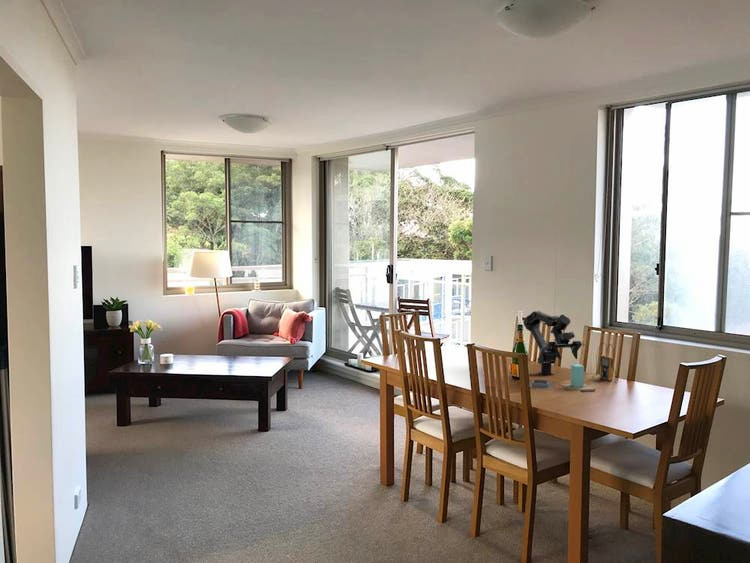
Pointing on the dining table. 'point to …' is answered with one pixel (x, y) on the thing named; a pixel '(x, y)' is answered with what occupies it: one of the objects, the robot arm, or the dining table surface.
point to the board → (583, 389)
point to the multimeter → (606, 366)
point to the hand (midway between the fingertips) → (568, 359)
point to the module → (577, 375)
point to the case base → (541, 384)
